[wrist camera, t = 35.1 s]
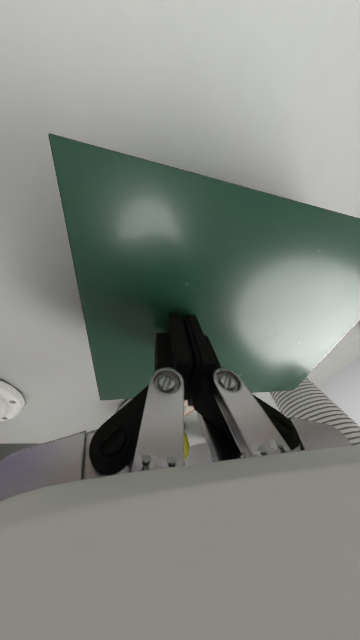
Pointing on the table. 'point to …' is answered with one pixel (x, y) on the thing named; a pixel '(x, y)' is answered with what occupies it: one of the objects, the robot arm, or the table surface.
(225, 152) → the table surface
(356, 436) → the cup
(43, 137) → the table surface
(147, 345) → the bin lid
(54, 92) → the table surface
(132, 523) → the robot arm
